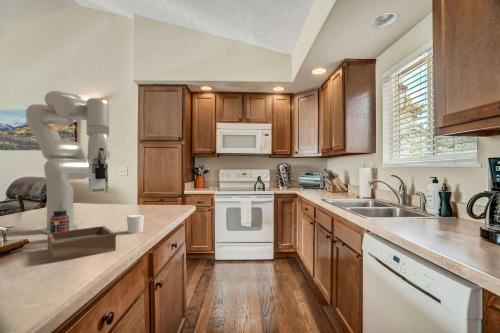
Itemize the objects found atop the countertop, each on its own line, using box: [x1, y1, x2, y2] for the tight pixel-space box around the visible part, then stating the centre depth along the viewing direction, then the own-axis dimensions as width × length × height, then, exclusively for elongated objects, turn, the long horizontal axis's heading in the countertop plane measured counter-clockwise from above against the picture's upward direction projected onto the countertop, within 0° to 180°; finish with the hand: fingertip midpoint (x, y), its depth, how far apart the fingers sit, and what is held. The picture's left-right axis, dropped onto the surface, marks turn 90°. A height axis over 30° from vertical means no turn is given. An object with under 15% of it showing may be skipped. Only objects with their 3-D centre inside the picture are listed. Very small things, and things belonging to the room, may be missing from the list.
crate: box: [47, 225, 117, 263], centre depth 88 cm, size 16×17×6 cm
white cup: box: [126, 213, 145, 234], centre depth 113 cm, size 7×7×7 cm
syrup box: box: [88, 154, 109, 195], centre depth 100 cm, size 6×6×14 cm
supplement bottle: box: [50, 210, 69, 233], centre depth 100 cm, size 6×6×11 cm
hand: (98, 178), depth 100 cm, fingers closed on syrup box, 6 cm apart
